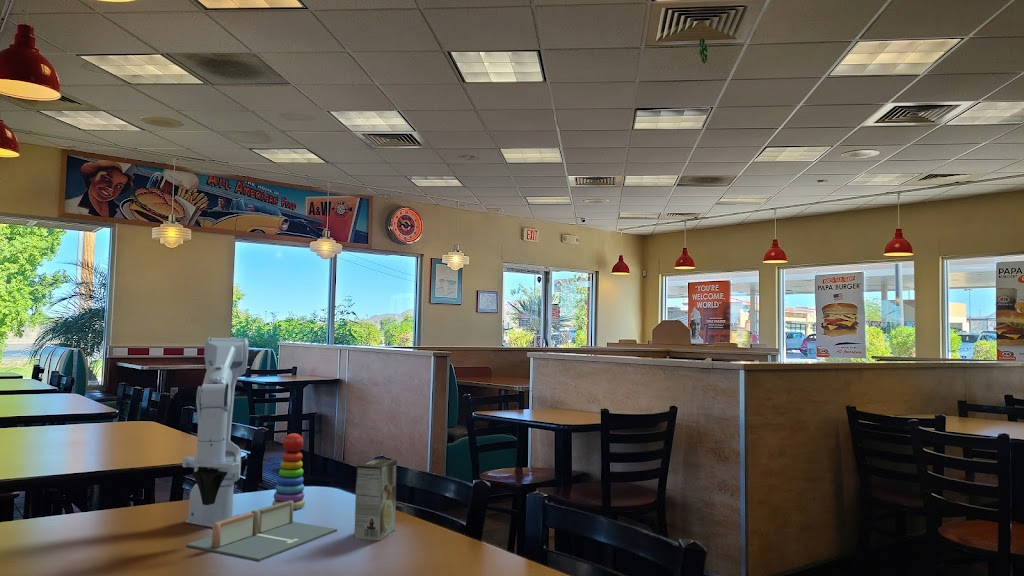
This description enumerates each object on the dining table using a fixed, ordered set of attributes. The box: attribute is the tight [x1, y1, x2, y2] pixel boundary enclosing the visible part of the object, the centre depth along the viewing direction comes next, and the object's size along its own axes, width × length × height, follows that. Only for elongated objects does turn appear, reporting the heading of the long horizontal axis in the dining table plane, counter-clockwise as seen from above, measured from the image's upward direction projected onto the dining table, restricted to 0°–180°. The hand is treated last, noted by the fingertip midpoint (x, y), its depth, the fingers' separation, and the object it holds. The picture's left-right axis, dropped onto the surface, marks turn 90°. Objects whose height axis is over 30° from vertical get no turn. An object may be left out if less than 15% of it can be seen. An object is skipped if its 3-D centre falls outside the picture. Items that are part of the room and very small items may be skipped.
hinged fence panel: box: [211, 512, 254, 548], centre depth 150 cm, size 10×2×5 cm, turn 156°
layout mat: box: [186, 521, 338, 562], centre depth 154 cm, size 20×24×1 cm
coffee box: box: [353, 458, 398, 542], centre depth 160 cm, size 9×6×16 cm
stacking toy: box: [271, 432, 306, 511], centre depth 182 cm, size 8×8×19 cm
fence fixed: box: [250, 501, 294, 536], centre depth 161 cm, size 2×12×5 cm, turn 156°
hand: (208, 504), depth 151 cm, fingers closed
